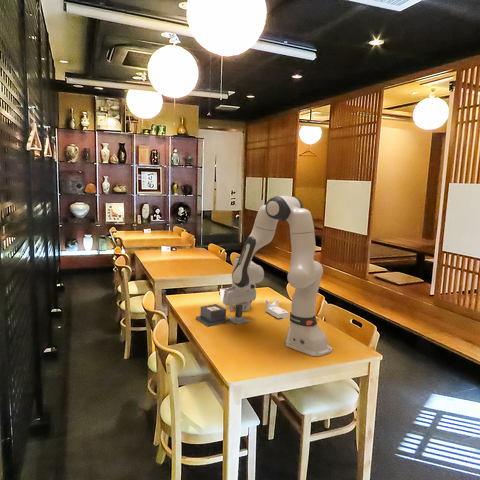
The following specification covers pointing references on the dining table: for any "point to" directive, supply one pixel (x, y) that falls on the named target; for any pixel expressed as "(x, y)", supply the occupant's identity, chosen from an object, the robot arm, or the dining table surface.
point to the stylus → (238, 312)
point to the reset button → (212, 308)
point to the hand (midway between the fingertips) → (239, 310)
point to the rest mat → (239, 320)
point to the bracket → (276, 309)
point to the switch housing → (212, 315)
